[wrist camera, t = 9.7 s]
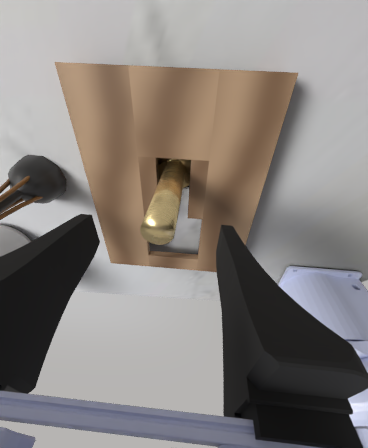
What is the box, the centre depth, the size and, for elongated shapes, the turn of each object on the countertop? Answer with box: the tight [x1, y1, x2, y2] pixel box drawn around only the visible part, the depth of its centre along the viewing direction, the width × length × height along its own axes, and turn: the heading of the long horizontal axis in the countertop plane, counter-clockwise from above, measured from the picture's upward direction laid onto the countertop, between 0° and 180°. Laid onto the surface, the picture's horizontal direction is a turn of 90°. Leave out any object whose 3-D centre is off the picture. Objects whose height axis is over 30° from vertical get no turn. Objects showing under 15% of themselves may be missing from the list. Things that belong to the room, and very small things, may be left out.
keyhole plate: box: [55, 62, 298, 272], centre depth 20 cm, size 16×20×2 cm
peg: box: [140, 158, 191, 245], centre depth 16 cm, size 4×4×10 cm
